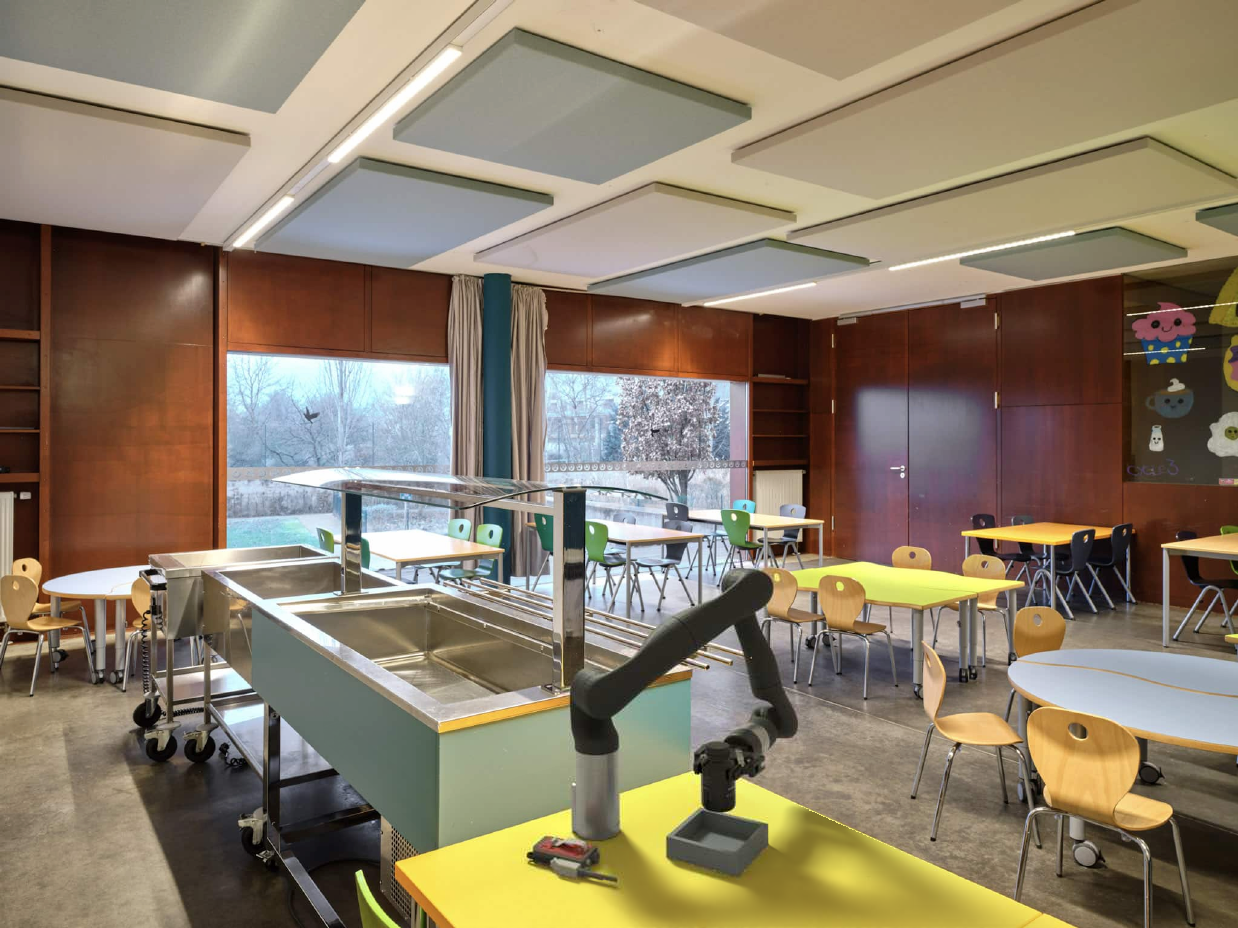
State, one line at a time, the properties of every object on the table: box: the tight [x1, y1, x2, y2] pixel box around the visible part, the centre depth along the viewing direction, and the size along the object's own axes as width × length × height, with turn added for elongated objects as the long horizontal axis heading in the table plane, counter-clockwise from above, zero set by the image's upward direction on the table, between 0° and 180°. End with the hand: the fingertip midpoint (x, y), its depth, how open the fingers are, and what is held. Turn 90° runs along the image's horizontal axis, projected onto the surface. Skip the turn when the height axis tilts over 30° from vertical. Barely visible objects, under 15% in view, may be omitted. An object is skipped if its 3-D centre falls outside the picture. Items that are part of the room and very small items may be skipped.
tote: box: [665, 806, 769, 879], centre depth 156 cm, size 15×15×4 cm
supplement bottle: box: [700, 740, 737, 813], centre depth 156 cm, size 7×7×12 cm
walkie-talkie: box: [526, 835, 618, 883], centre depth 150 cm, size 9×4×20 cm
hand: (713, 773), depth 154 cm, fingers closed on supplement bottle, 7 cm apart
